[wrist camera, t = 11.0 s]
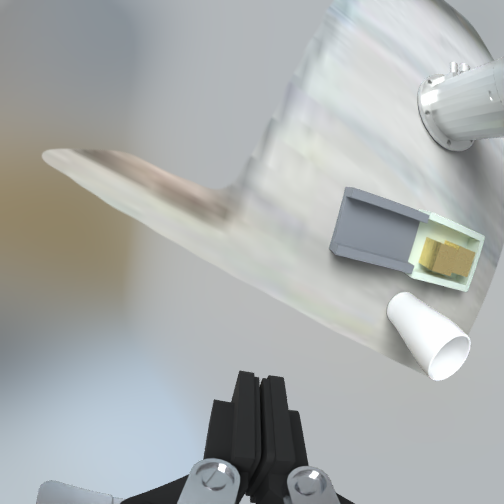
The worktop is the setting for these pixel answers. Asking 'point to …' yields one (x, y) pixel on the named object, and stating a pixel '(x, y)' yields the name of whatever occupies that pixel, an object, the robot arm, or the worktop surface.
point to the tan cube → (462, 259)
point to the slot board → (376, 230)
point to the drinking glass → (429, 336)
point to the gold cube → (438, 256)
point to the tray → (440, 232)
